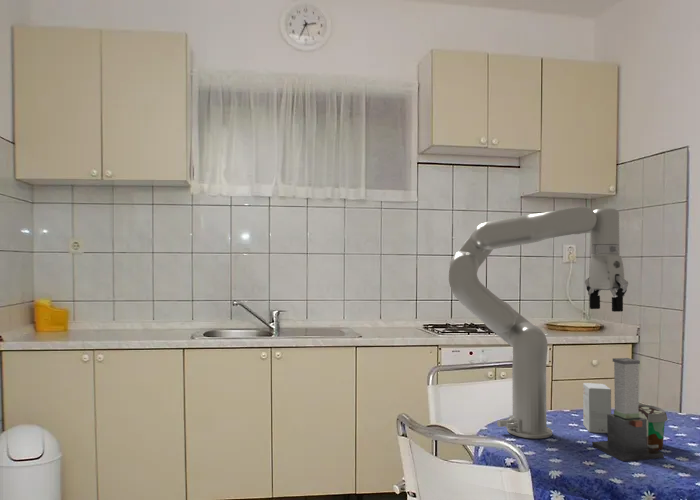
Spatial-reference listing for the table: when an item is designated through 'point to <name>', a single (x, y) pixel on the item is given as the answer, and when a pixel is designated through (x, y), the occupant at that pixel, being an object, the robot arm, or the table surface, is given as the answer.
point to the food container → (653, 424)
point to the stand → (627, 440)
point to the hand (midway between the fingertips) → (605, 310)
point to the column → (626, 388)
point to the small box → (596, 407)
